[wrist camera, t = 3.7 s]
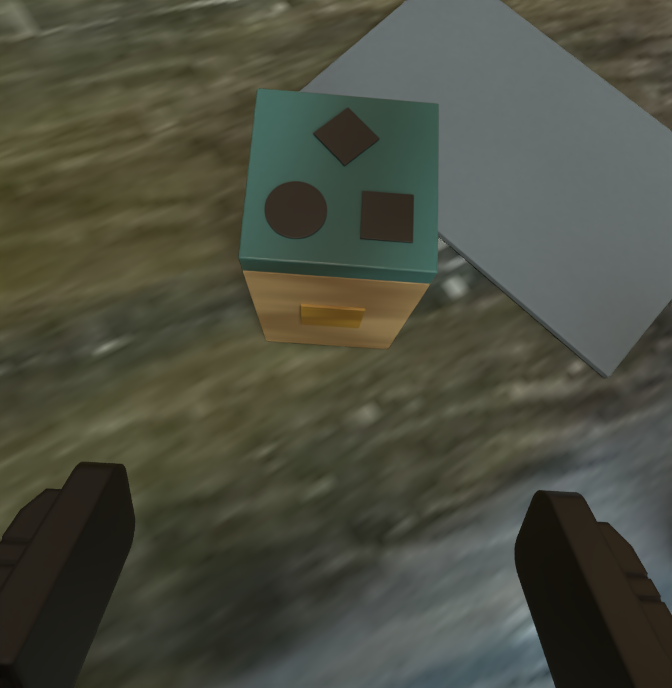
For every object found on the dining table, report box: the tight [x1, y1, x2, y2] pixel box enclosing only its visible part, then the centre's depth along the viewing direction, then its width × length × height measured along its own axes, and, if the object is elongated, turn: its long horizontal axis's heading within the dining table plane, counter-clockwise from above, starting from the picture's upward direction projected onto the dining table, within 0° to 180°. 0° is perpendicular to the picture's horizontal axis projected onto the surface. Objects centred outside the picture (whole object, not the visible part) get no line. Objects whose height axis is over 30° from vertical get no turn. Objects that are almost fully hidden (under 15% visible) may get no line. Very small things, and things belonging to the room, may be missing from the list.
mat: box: [299, 0, 672, 378], centre depth 28 cm, size 22×14×1 cm, turn 47°
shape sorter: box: [238, 88, 439, 349], centre depth 21 cm, size 6×6×10 cm
